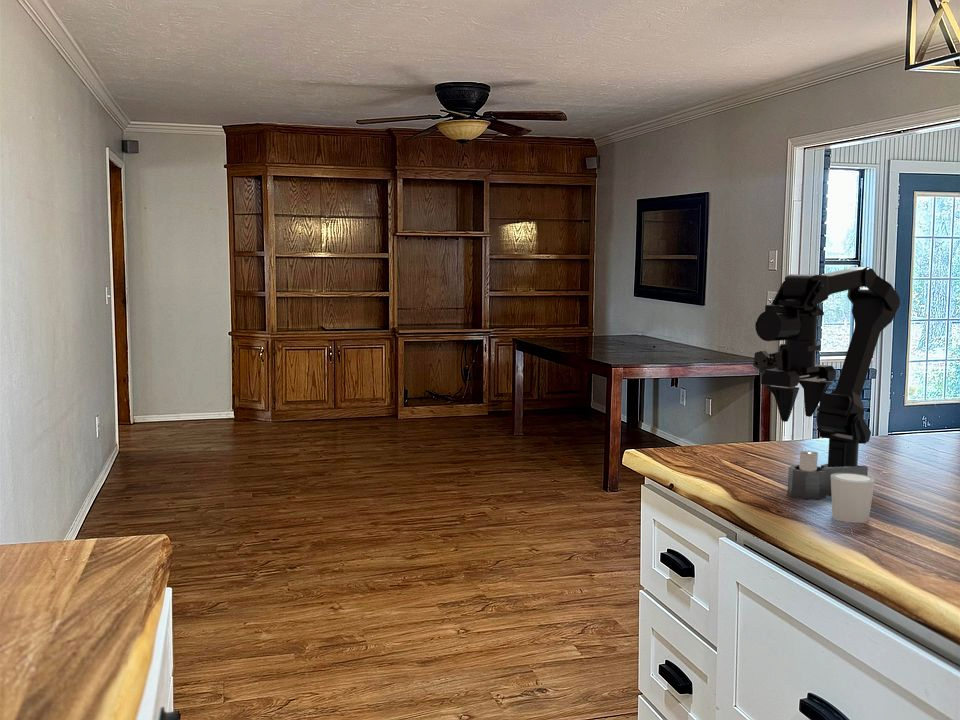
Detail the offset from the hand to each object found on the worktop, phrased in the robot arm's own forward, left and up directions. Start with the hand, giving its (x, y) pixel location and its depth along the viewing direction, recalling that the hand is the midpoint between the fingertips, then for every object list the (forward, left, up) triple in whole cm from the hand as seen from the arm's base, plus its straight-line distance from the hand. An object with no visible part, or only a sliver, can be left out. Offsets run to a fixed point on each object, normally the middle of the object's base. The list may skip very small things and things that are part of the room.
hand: (796, 418), depth 172 cm
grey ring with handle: (+6, +8, -12) cm, 16 cm away
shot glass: (+18, +20, -12) cm, 30 cm away
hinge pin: (+10, +8, -12) cm, 17 cm away
